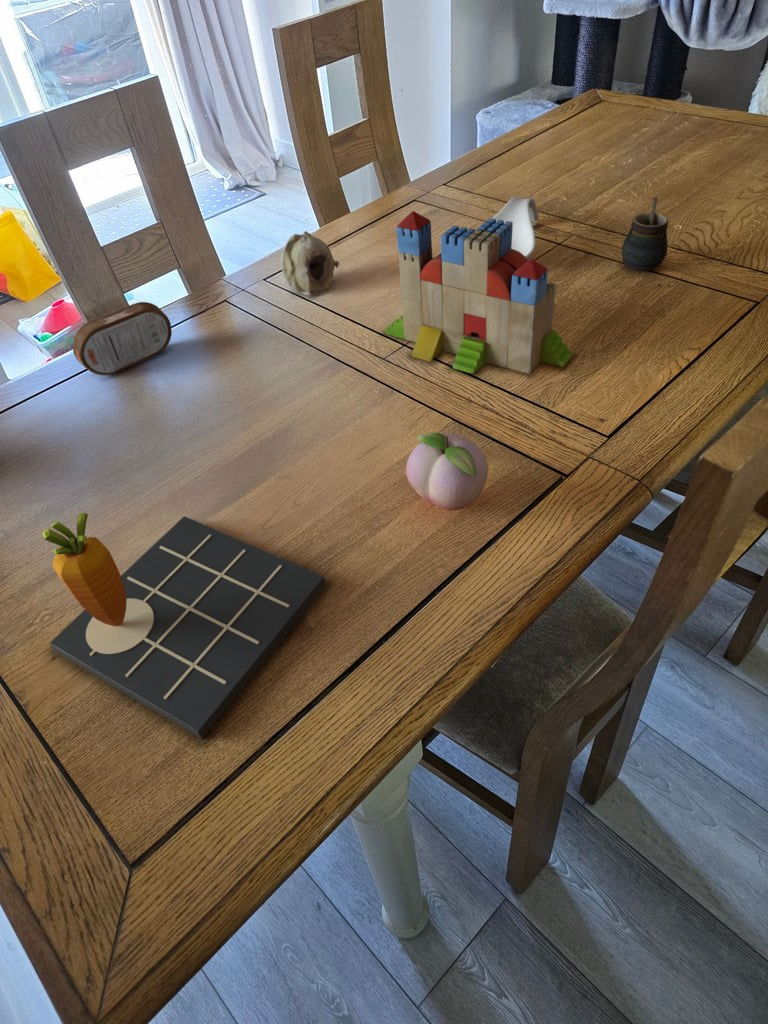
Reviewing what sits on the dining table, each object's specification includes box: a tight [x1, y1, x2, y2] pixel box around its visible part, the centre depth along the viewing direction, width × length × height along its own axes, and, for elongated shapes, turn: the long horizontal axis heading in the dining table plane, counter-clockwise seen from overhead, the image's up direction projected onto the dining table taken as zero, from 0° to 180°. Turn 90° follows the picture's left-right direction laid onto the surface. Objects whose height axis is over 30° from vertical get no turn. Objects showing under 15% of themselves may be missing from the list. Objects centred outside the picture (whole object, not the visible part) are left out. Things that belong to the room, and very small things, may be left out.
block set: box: [384, 210, 574, 375], centre depth 98 cm, size 28×14×19 cm, turn 56°
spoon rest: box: [492, 196, 539, 261], centre depth 124 cm, size 24×12×7 cm, turn 158°
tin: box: [72, 301, 172, 376], centre depth 106 cm, size 15×3×8 cm, turn 130°
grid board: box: [49, 515, 327, 740], centre depth 72 cm, size 20×20×2 cm
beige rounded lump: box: [280, 230, 340, 296], centre depth 119 cm, size 9×8×10 cm
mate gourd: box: [621, 197, 669, 273], centre depth 115 cm, size 7×8×10 cm
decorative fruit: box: [405, 431, 489, 511], centre depth 78 cm, size 9×8×10 cm
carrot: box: [42, 512, 127, 626], centre depth 65 cm, size 5×5×15 cm
